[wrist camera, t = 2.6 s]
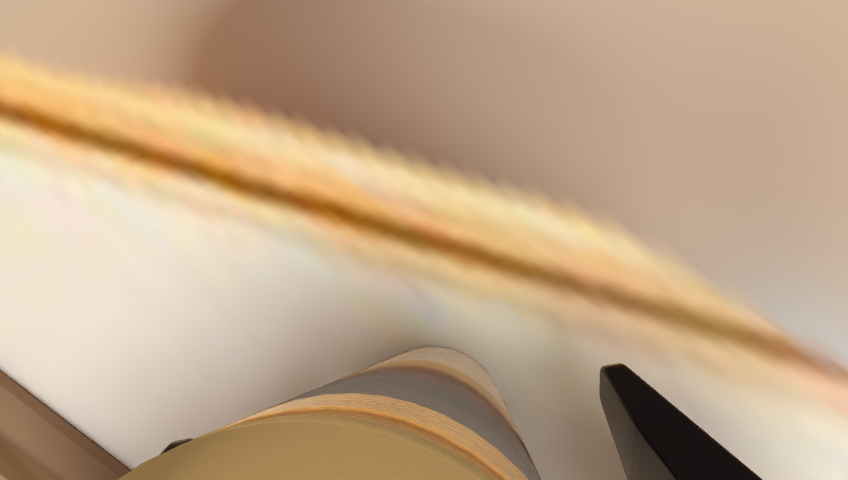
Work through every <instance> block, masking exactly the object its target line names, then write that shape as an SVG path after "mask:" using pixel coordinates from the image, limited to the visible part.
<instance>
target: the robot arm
mask: <svg viewBox="0 0 848 480" xmlns="http://www.w3.org/2000/svg"><path fill="white" fill-rule="evenodd" d="M599 393H600V400H601V404H602V407H603V410H604V412H605V415H606V418H607V421H608V424H609V427H610V430H611V433H612V436H613V439H614V441H615V444H616V447H617V450H618V453H619V456H620V459H621V462H622V465H623V468H624V470H625V473H626V476H627V479H628V480H762V479H761V478H760V477H759V476H757V475H756V474H755V473H754V472H753V471H751V470H750V469H749V468H748V467H747V466H745V465H744V464H743V463H742V462H741V461H739V460H738V459H737V458H736V457H735V456H733V455H732V454H731V453H730V452H729V451H727V450H726V449H725V448H724V447H723V446H721V445H720V444H719V443H718V442H717V441H715V440H714V439H713V438H712V437H711V436H709V435H708V434H707V433H706V432H705V431H704V430H702V429H701V428H700V427H699V426H698V425H696V424H695V423H694V422H693V421H692V420H690V419H689V418H688V417H687V416H686V415H684V414H683V413H682V412H681V411H680V410H678V409H677V408H676V407H675V406H674V405H672V404H671V403H670V402H669V401H668V400H666V399H665V398H664V397H663V396H662V395H660V394H659V393H658V392H657V391H656V390H654V389H653V388H652V387H651V386H650V385H648V384H647V383H646V382H645V381H644V380H642V379H641V378H640V377H639V376H638V375H636V374H635V373H634V372H633V371H632V370H630V369H629V368H628V367H627V366H625V365H624V364H621V363H618V364H612V365H606V366H603V367H602V368H601V370H600V391H599ZM191 440H193V439H191V438H190V439H184V440H178V441H174V442H172V443H171V444H169V445H168V446H167V447H166V448H165V450H164V451H163V452H162V453H161V454H163V453H165V452H167V451H169V450H171V449H173V448H175V447H177V446H179V445H181V444H184V443H186V442H189V441H191ZM161 454H160V455H161Z"/></svg>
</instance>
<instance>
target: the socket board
mask: <svg viewBox="0 0 848 480" xmlns="http://www.w3.org/2000/svg"><path fill="white" fill-rule="evenodd" d="M129 472H130V470H129V469H128V468H127V467H125V466H124V465H123V464H121V463H120V462H119V461H117V460H116V459H115V458H113V457H112V456H111V455H110V454H108V453H107V452H106V451H104V450H103V449H102V448H100V447H99V446H98V445H96V444H95V443H94V442H93V441H91V440H90V439H89V438H87V437H86V436H85V435H83V434H82V433H81V432H80V431H78V430H77V429H76V428H74V427H73V426H72V425H70V424H69V423H68V422H66V421H65V420H64V419H63V418H61V417H60V416H59V415H57V414H56V413H55V412H53V411H52V410H51V409H49V408H48V407H47V406H46V405H44V404H43V403H42V402H40V401H39V400H38V399H36V398H35V397H34V396H33V395H31V394H30V393H29V392H27V391H26V390H25V389H23V388H22V387H21V386H19V385H18V384H17V383H16V382H14V381H13V380H12V379H10V378H9V377H8V376H6V375H5V374H4V373H2V372H1V371H0V480H118V479H120V478H121V477H123V476H124V475H126V474H127V473H129Z"/></svg>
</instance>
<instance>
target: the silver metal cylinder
mask: <svg viewBox="0 0 848 480" xmlns="http://www.w3.org/2000/svg"><path fill="white" fill-rule="evenodd" d="M118 480H541V478H540V476H539V474H538V472H537V470H536V468H535V466H534V464H533V462H532V460H531V457H530V455H529V453H528V451H527V449H526V447H525V445H524V443H523V441H522V439H521V436H520V434H519V432H518V430H517V428H516V426H515V424H514V422H513V420H512V417H511V415H510V413H509V411H508V409H507V407H506V405H505V403H504V401H503V399H502V396H501V394H500V392H499V390H498V388H497V386H496V384H495V383H494V381H493V380H492V378H491V377H490V375H489V374H488V373H487V372H486V371H485V369H484V368H483V367H482V366H480V365H479V364H478V363H477V362H476V361H474V360H473V359H471V358H470V357H468V356H467V355H465V354H463V353H461V352H458V351H455V350H453V349H448V348H444V347H423V348H417V349H414V350H411V351H408V352H405V353H403V354H400V355H398V356H396V357H393V358H391V359H388V360H386V361H383V362H381V363H379V364H376V365H374V366H371V367H369V368H366V369H364V370H361V371H359V372H357V373H354V374H352V375H349V376H347V377H344V378H342V379H340V380H337V381H335V382H332V383H330V384H327V385H325V386H323V387H320V388H318V389H315V390H313V391H310V392H308V393H305V394H303V395H301V396H298V397H296V398H293V399H291V400H288V401H286V402H284V403H281V404H279V405H276V406H274V407H271V408H269V409H267V410H264V411H262V412H259V413H257V414H254V415H252V416H249V417H247V418H245V419H242V420H240V421H237V422H235V423H232V424H230V425H228V426H225V427H223V428H220V429H218V430H215V431H213V432H211V433H208V434H206V435H203V436H201V437H198V438H196V439H193V440H191V441H189V442H186V443H184V444H181V445H179V446H177V447H175V448H173V449H171V450H169V451H167V452H165V453H163V454H161V455H159V456H157V457H155V458H153V459H150V460H148V461H146V462H144V463H142V464H141V465H139V466H138V467H136V468H135V469H133V470H132V471H130V472H129V473H127V474H126V475H124V476H123V477H121V478H120V479H118Z"/></svg>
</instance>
